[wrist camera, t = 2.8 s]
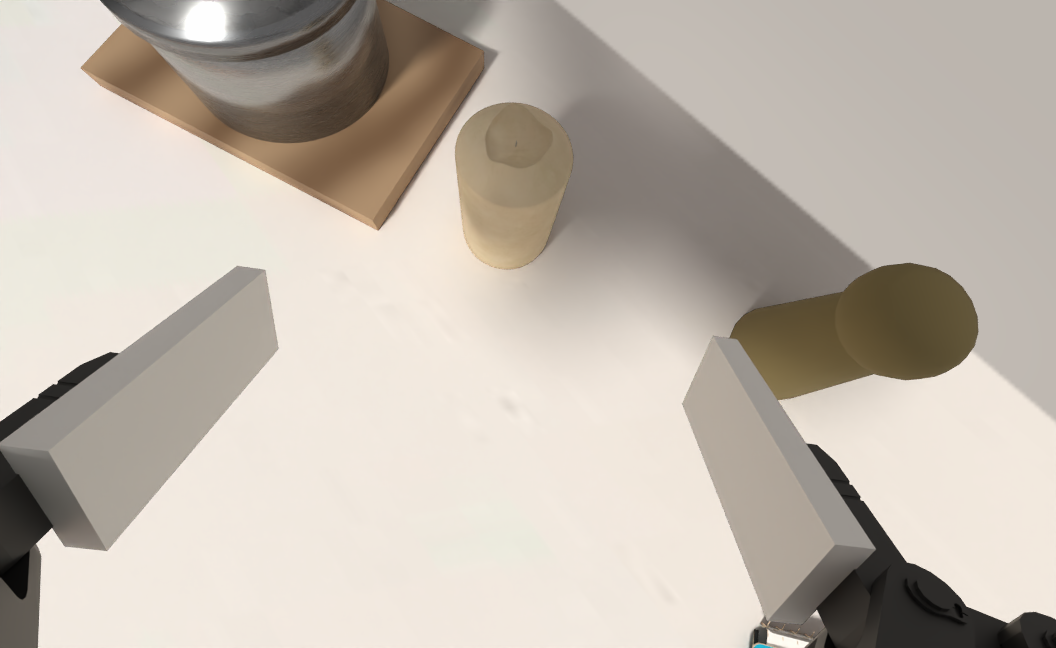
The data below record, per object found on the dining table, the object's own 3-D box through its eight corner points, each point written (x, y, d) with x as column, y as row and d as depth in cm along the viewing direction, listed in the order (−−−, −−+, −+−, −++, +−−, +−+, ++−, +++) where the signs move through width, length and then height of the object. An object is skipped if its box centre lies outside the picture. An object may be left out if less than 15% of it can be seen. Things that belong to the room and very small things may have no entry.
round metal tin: (139, 87, 27) (1, -46, 20) (263, -54, 30) (187, -218, 23) (324, 184, 27) (260, 88, 19) (432, 33, 30) (414, -103, 22)
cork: (740, 294, 30) (882, 223, 19) (825, 325, 30) (1014, 271, 19) (719, 381, 28) (861, 356, 18) (808, 413, 29) (1003, 407, 18)
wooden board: (100, 85, 29) (80, 68, 27) (234, -60, 32) (222, -84, 31) (378, 230, 28) (372, 220, 27) (484, 68, 32) (484, 51, 30)
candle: (463, 190, 30) (453, 76, 20) (546, 192, 30) (576, 82, 20) (463, 270, 28) (452, 191, 19) (549, 270, 29) (582, 194, 19)
